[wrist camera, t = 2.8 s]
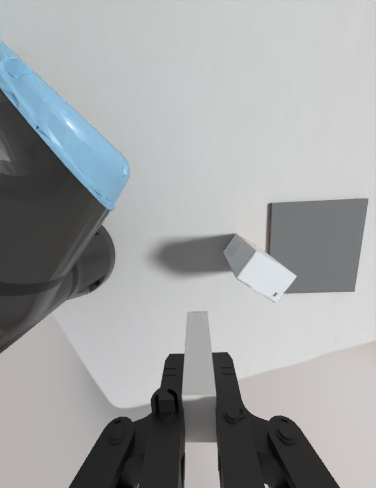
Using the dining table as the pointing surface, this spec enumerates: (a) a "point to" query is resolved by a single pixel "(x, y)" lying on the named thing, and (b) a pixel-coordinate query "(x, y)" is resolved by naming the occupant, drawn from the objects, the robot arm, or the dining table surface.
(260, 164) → the dining table surface
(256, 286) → the skincare box
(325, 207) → the mat
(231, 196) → the dining table surface
